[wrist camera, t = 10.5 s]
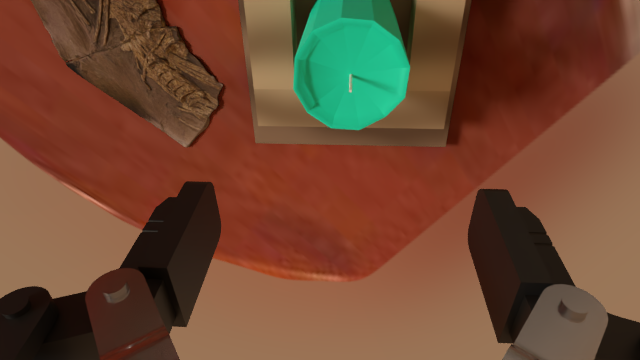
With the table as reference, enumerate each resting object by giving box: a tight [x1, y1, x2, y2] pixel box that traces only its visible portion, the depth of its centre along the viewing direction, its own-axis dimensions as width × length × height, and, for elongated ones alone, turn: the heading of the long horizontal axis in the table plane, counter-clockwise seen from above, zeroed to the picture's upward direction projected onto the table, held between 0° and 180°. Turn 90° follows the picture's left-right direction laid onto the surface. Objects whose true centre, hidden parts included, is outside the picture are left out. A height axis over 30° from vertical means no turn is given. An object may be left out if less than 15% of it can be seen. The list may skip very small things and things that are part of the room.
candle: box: [293, 0, 410, 130], centre depth 25 cm, size 6×6×12 cm
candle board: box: [238, 0, 471, 147], centre depth 29 cm, size 20×16×4 cm
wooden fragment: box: [31, 0, 223, 147], centre depth 32 cm, size 26×11×1 cm, turn 23°
